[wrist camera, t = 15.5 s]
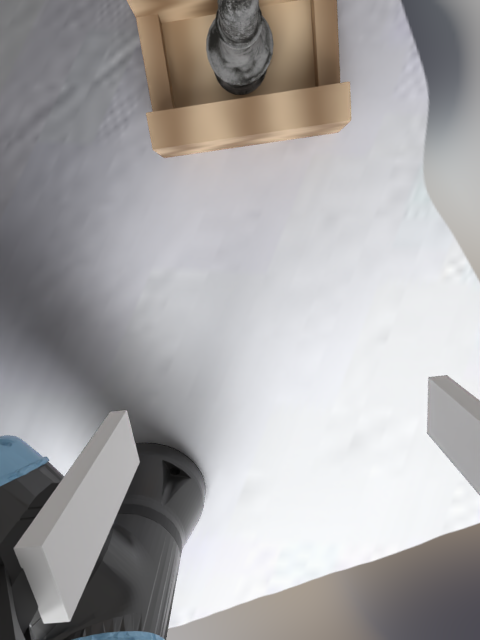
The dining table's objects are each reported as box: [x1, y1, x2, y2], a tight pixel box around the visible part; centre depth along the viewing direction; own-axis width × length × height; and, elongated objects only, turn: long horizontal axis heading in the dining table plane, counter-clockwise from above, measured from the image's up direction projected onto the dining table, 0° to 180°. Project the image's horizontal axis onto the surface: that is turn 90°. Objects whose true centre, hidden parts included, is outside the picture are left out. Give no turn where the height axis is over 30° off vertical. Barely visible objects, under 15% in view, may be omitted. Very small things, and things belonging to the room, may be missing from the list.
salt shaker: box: [206, 0, 274, 95], centre depth 28 cm, size 6×6×12 cm
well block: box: [127, 0, 351, 158], centre depth 32 cm, size 18×14×6 cm
